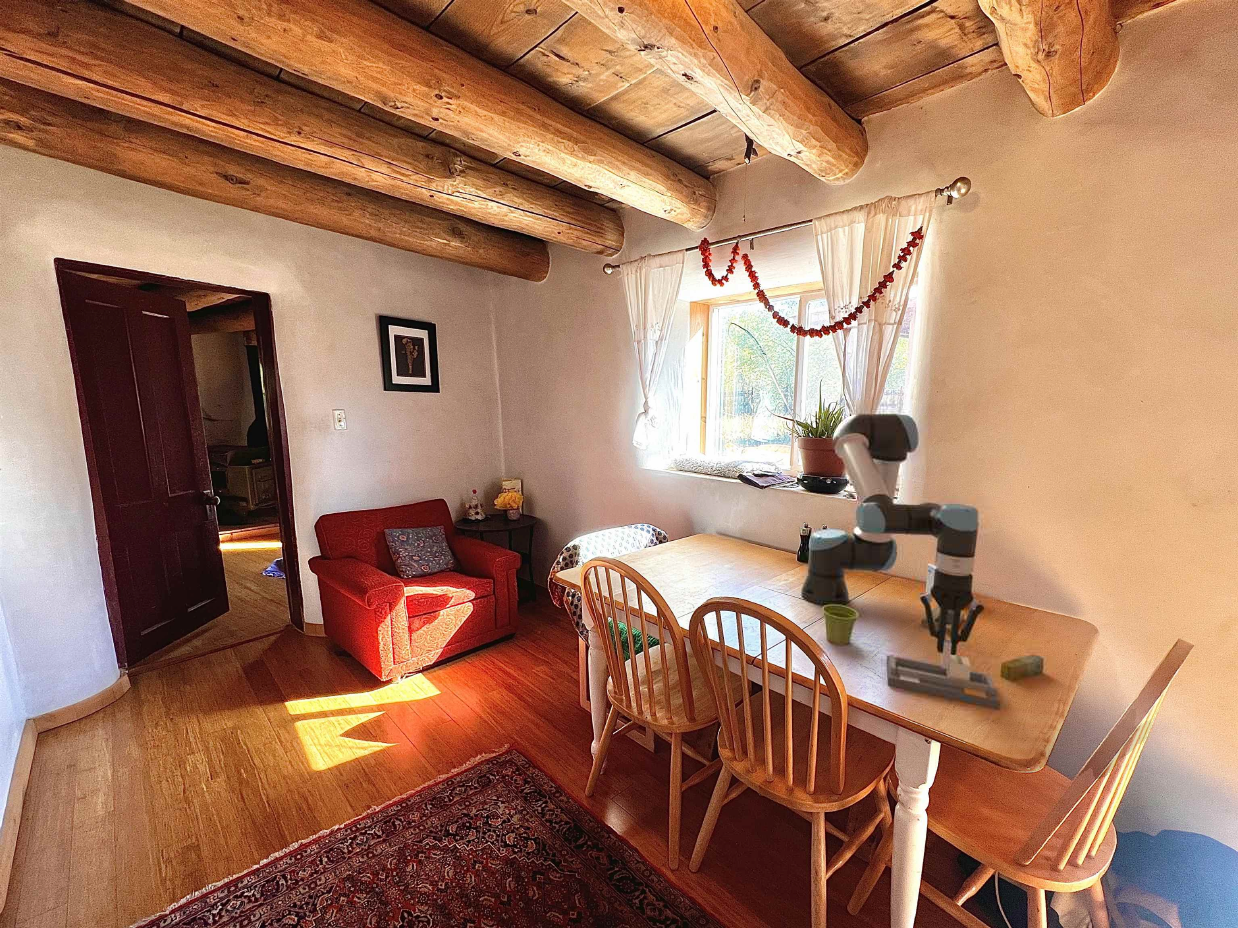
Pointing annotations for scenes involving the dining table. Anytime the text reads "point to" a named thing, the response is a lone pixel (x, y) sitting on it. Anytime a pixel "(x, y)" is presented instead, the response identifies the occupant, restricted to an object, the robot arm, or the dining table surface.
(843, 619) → the plant pot
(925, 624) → the computer
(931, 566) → the light bulb box
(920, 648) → the dining table surface
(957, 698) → the grey tray
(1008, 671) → the medication box
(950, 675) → the white cardboard box
